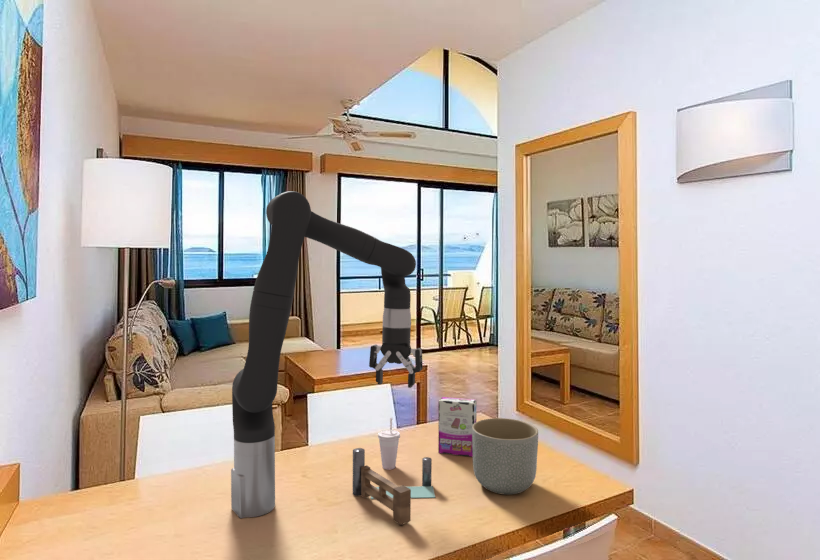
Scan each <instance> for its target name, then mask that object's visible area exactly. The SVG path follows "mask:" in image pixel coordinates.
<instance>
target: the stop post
mask: <svg viewBox="0 0 820 560" xmlns="http://www.w3.org/2000/svg"><path fill="white" fill-rule="evenodd" d="M421 459H422V460H421V462H422V465H421V466H422V470H421V471H422V473H421V474H422V475H421V476H422V477H421V482H422V483H421V486H425V487H429V486H432V467H433V466H432V464H433V463H432V461H433V459H432V458H431V457H429V456H427V457H426V456H424V457H423V458H421Z"/></svg>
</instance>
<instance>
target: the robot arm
mask: <svg viewBox="0 0 820 560" xmlns="http://www.w3.org/2000/svg"><path fill="white" fill-rule="evenodd" d="M311 208H312V207H311V204H310V202H309V201H308V199H307V197H306V196H305V195H304V194H303V193H301V192H298V191H291V190H290V191H284V192H282V193H280V194H278V195H275V196H274V197H273V198H272V199H271V200H270V201H268V204H267V205H266V209H265V210H266V212H265V214H266V218H267V221H268V222H269V224H270V226H271V229H270V237H269V244H268V249H267V251H266V254H265V257H264V259H263V261H262V263H261V266H260V268H259V270H258V274H257V276H256V280H255V282H254V286H253V292H252V296H251V301H250V307H249V314H248V317H249V318H248V348H247V353H246V354H247V355H246V358H245V363H244V367H243V369H240V370H239V371H238V373H237V374H236V375H235V377H234V378H233V381H232V385H231V386H232V389H231V398H232V399H231V400H232V401H231V402H232V403H231V404H232V411H231V412H232V426H233V429H232V430H233V468H231V469H230V482H231V483H230V487H231V488H230V491H231V492H230V493H231V494H230V498H231V499H230V502H231V503H230V504H231V507H230V508H231V510H232V511H233V512H234V513H235V514H236V516H237V517H238V518H239V519H243V518H244V519H245V518H253V517H254V518H255V517H261V516H263V515H266V514H268V513H270V512H271V511H273V510H274V509H275V507H276V451H275V450H276V449H275V448H276V447H275V446H276V444H275V443H276V439H275V437H276V426H275V425H276V424H275V419H274V413H273V412H274V411H273V402H274V400H275V398H276V396H277V393H278V381H279V369H280V358H281V352H282V347H283V345H284V341H285V338H286V332H287V329H288V325H289V320H290V316H291V311H292V306H293V301H294V295H295V289H296V284H297V277H298V270H299V261H300V255H301V250H302V247H303V243H304V239H305V238H308V239H310V240H313V241H315V242H318V243H320V244H323V245H326V246H328V247H330V248H332V249H334V250H336V251H338V252H340V253H343V254H344V255H346V256H349V257H351V258H353V259H355V260H358V261H360V262H363V263H364V264H366V265H372V266H376V267H379V268H380V273H381V279H382V285H383V292H384V296H383V314H382V331H381V332H382V333H381V335H382V337H381V339H382V340H381V344H382V345H378V344H373V345H371V346H370V351H369V364H368V366H369V367H370V368H371V369H374V370H375V381H376V383H377V385H382V384H383V383H384V381H383V380H384V369H383V368H384V367H385V365H386V364H387V363H389V364H397V365H400V364H402V365H403V366H404V368H406V370H407V371H408V373H407V388H409V389H411V388H412V387H413V386H414V385H415V383H416V373H420V372H421V371H423V349H422V348H421V347H418V348H412V346H411V329H412V314H411V313H412V312H411V299H412V298H411V297H412V296H411V289H410V288H409V286H407V285H406V278H405V277H408V276H411V274H413V272H414V271H415V270H416V268H417V267H416V266H417V262H416V259H415V257H414V254H413V253H411V252H410V251H409V250H407V249H405V248H403V247H400V246H397V245H395V244H394V245H393V244H392V243H388V242H385V241H382V240H380V239H378V238H376V237H375V236H373V235H370V234H368V233H366V232H364V231H362V230H360V229H357V228H355V227H352V226H349V225H346V224H343V223H339V222H337V221H333V220H330V219H328V218H326V217H323V216H322V215H319V214H317V213H315V212H314V211H312V209H311ZM380 352H381V354H382V358H381V359H380V361H379V362H378V363H377V361H378V354H379V353H380ZM411 354H412V356H413V357H414V359H415V361H414V363H415V366H414V364H413V361H412V359H411V358H410V357H409V356H410V355H411Z"/></svg>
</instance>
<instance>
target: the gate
mask: <svg viewBox="0 0 820 560" xmlns="http://www.w3.org/2000/svg"><path fill="white" fill-rule="evenodd" d="M371 482H372V483H373V484H375V485H376V486H374V485H373V484H371ZM376 487H379V489H378V488H376ZM407 487H408V486H406V485H404V484H401V485H397V484H396V483H394V482H393V481H391V480H389V479H388V478H386V477H385V476H383V475H382V474H379V473H378V472H376V471H375V470H374V469H373V470H372V469H371V467H370V466H369V465H367V464H366V465H365V466H363V467H361V496H360V497H363V498H364V499H365V498H369V497H370V498H371V497H373V498H374V499H373V500H376V501H378V502H379V503H381V504H382V505H383V506H385V507H386V508H387V509H389V510H391V511H392V520H393V521H394V522H395V523H396V524H398V525H399V526H402V525H404V524H407V523H409V522H411V512H412V511H411V509H412V508H411V504H412V502H411V500H412V498H411V489H409V488H407ZM386 491H388V492H389V493H391V494H392V495H393V498H392V497H390V496H389V495H387V494H386Z"/></svg>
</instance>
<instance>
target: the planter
mask: <svg viewBox="0 0 820 560" xmlns="http://www.w3.org/2000/svg"><path fill="white" fill-rule="evenodd" d="M472 449H473V457H472V468H473V473H474V476H475V478H476V480H477V482H478V483H479V484H480V485H481V486H482V487H484V488H485V489H487V491H489V492H492V493H496V494H499V495H517V494H520V493H522V492H523V493H524V491H526V490H527V489H529V488H530V487H532V485H533V483H534V481H535V479H536V475H537V469H538V468H537V467H538V466H537V465H538V464H537V463H538V449H539V430H538V428H537V427H536V426H535V425H533V424H531V423H529V422H526V421H523V420H519V419H514V418H506V417H505V418H504V417H498V418H497V417H496V418H485V419H480V420H478V421H476V423H474V424H473V426H472Z"/></svg>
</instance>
